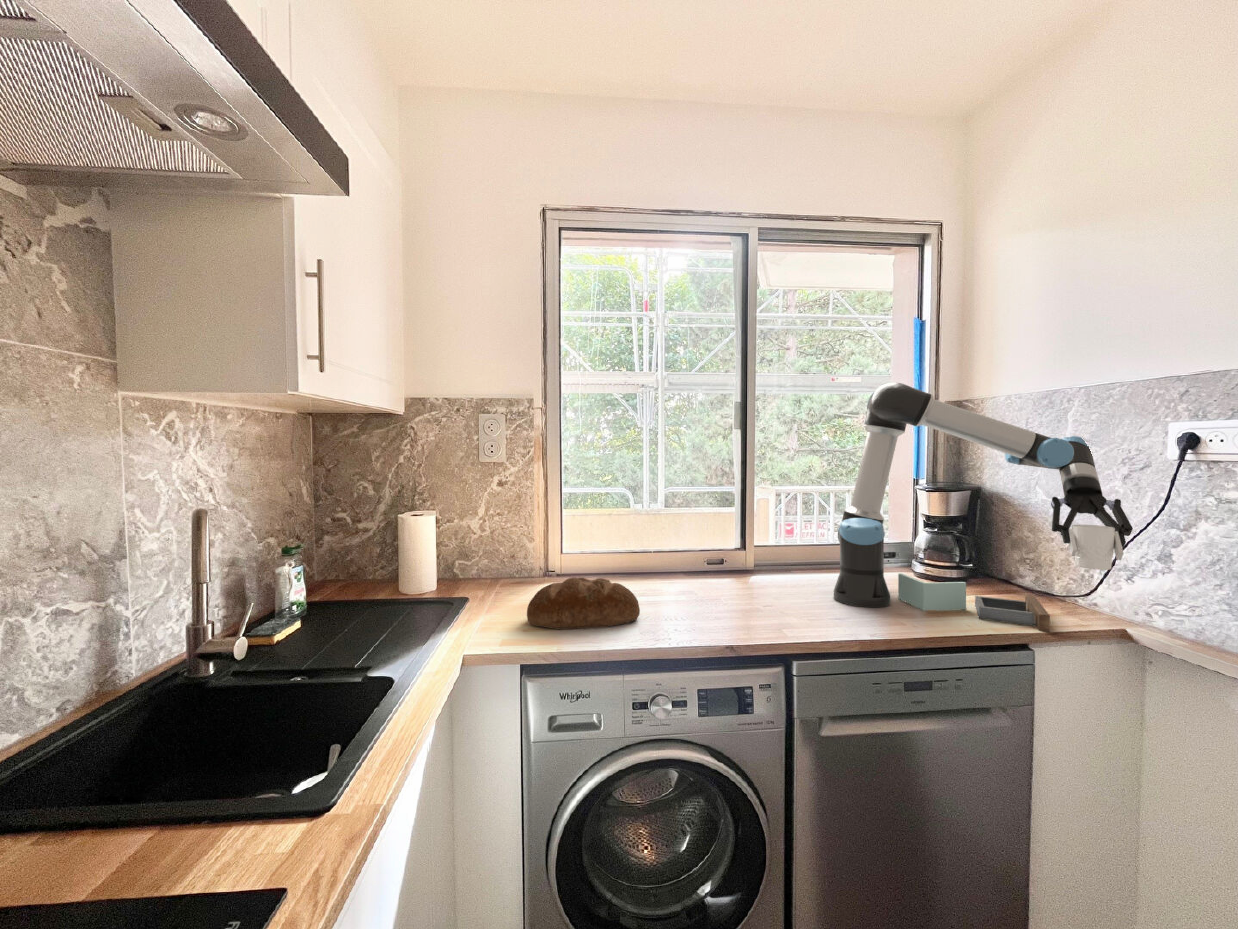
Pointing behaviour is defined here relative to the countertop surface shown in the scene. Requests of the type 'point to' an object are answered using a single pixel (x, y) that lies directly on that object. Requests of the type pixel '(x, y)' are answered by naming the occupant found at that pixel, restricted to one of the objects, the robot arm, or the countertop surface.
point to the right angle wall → (932, 594)
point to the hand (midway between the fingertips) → (1096, 554)
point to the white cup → (1094, 546)
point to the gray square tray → (1004, 610)
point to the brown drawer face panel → (1038, 613)
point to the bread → (582, 604)
